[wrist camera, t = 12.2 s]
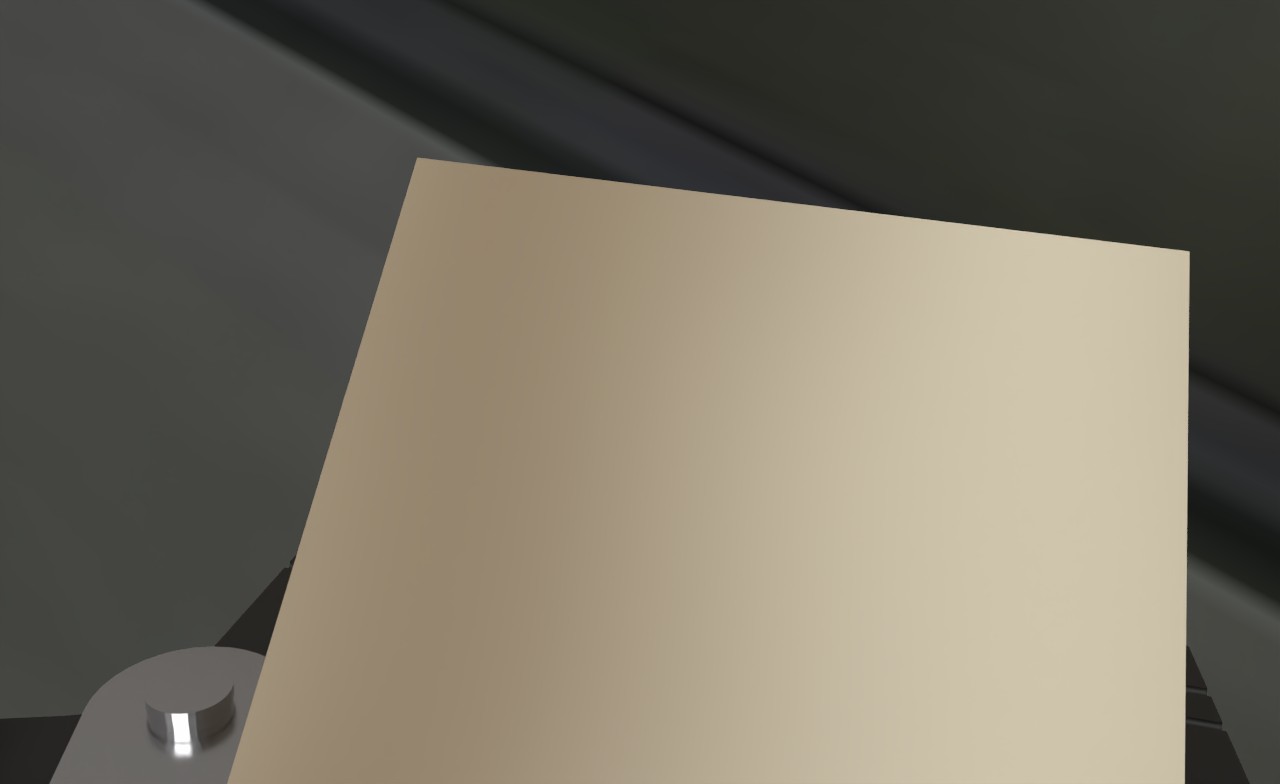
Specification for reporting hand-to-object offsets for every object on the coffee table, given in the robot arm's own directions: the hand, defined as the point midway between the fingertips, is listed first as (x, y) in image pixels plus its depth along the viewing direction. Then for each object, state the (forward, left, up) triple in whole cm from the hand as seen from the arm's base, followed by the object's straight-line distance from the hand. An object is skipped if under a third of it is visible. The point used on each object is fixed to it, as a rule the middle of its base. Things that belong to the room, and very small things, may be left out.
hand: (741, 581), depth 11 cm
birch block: (0, +1, -5) cm, 5 cm away
